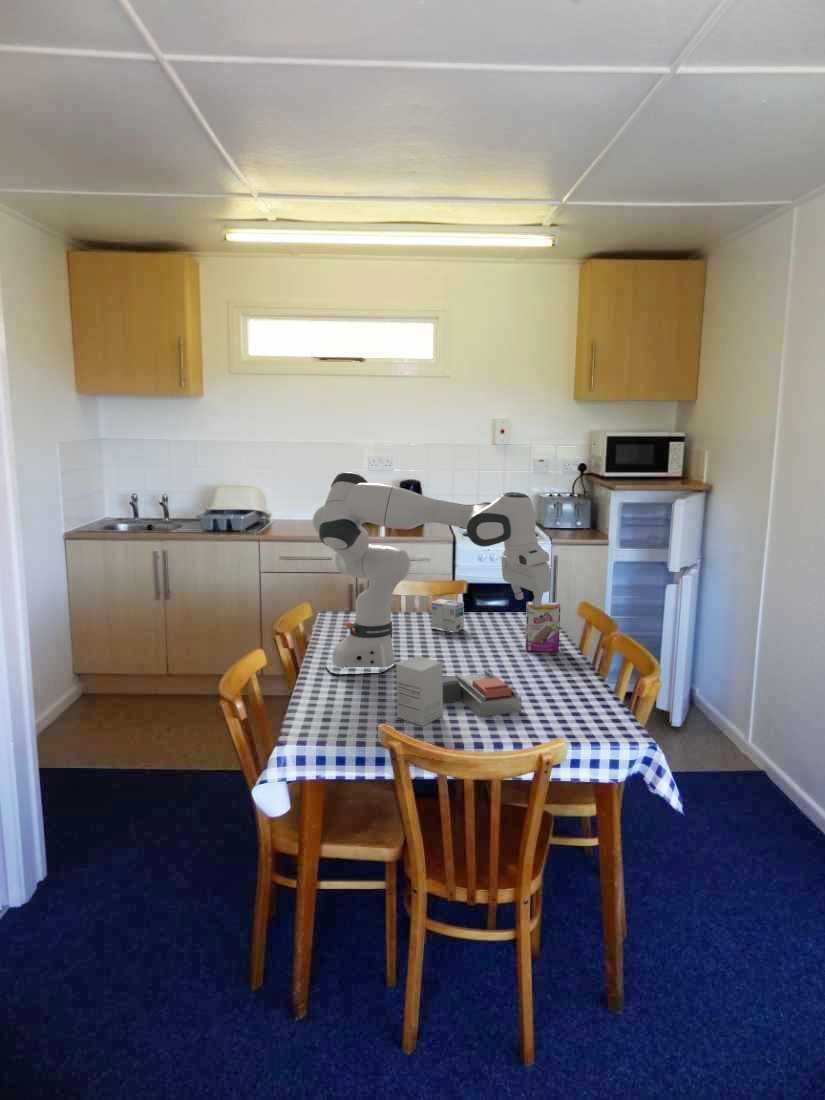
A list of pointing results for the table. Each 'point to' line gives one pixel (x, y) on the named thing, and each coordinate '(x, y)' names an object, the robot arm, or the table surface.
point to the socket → (483, 704)
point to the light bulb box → (447, 614)
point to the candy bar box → (542, 627)
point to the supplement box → (420, 690)
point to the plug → (451, 689)
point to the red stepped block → (492, 687)
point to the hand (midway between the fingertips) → (528, 602)
